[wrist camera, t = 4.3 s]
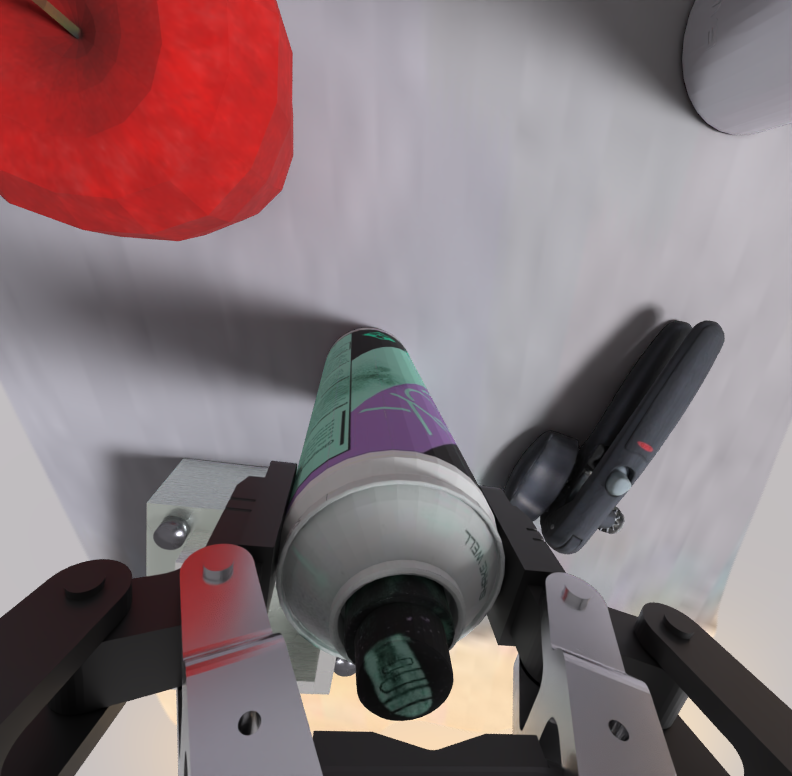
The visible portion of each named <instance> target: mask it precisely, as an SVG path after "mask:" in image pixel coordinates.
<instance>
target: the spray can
mask: <svg viewBox="0 0 792 776" xmlns="http://www.w3.org/2000/svg"><path fill="white" fill-rule="evenodd" d="M504 575H505V555H504V550H503V545H502V541H501V538H500V536H499V534H498V532H497V527H496V523H495V518H494V515H493V513H492V511H491V509H490V507H489V505H488V503H487V501H486V499H485V497H484V495H483V493H482V491H481V490H480V488H479V486H478V484H477V482H476V480H475V478H474V476H473V475H472V473H471V471H470V469H469V467H468V465H467V463H466V461H465V460H464V458H463V456H462V454H461V452H460V450H459V448H458V447H457V445H456V443H455V441H454V439H453V437H452V435H451V433H450V432H449V430H448V428H447V426H446V424H445V422H444V420H443V418H442V417H441V415H440V413H439V411H438V409H437V407H436V405H435V403H434V402H433V400H432V398H431V396H430V394H429V392H428V390H427V388H426V387H425V385H424V383H423V381H422V379H421V377H420V375H419V374H418V372H417V370H416V368H415V366H414V364H413V362H412V360H411V359H410V357H409V355H408V353H407V351H406V349H405V348H404V346H403V345H402V344H401V343H400V341H399V340H398V339H396V338H395V337H394V336H393V335H391V334H389V333H388V332H386V331H383V330H380V329H377V328H359V329H356V330H352V331H350V332H348V333H346V334H344V335H343V336H342V337H341V338H339V339H338V340H337V341H336V342H335V344H334V345H333V346H332V348H331V350H330V351H329V353H328V355H327V359H326V362H325V366H324V370H323V373H322V377H321V381H320V385H319V389H318V392H317V396H316V400H315V404H314V408H313V412H312V415H311V419H310V423H309V427H308V431H307V434H306V438H305V442H304V446H303V450H302V454H301V457H300V461H299V465H298V469H297V473H296V478H295V482H294V486H293V489H292V493H291V497H290V501H289V505H288V509H287V512H286V516H285V520H284V524H283V528H282V533H281V540H280V548H279V557H278V564H277V572H276V590H277V594H278V599H279V604H280V606H281V608H282V610H283V612H284V614H285V616H286V618H287V620H288V622H289V623H290V624H291V625H292V626H293V628H294V629H295V630H296V631H297V632H298V634H299V635H300V636H302V637H303V638H304V639H306V640H307V641H308V642H309V643H311V644H312V645H313V646H315V647H317V648H318V649H320V650H322V651H324V652H326V653H328V654H330V655H332V656H336V657H339V658H342V659H345V660H347V661H348V662H350V663H352V664H354V665H355V667H356V685H357V694H358V697H359V699H360V701H361V703H362V704H363V705H364V707H366V708H367V709H368V710H369V711H371V712H372V713H374V714H376V715H377V716H379V717H381V718H384V719H388V720H395V721H405V720H413V719H416V718H420V717H423V716H425V715H427V714H429V713H431V712H432V711H434V710H435V709H437V708H438V707H439V706H440V705H441V704H442V703H443V702H444V701H445V700H446V699H447V697H448V696H449V693H450V691H451V689H452V685H453V670H452V665H451V660H450V654H449V650H450V649H451V648H452V647H453V646H454V645H455V644H456V642H457V641H459V640H460V639H462V638H463V637H465V636H466V635H467V634H468V633H469V632H471V631H472V630H473V629H474V628H475V627H476V626H477V625H478V624H479V623H480V622H481V621H482V620H483V618H484V617H485V616H486V615H487V613H488V612H489V611H490V609H491V608H492V606H493V604H494V602H495V600H496V598H497V597H498V595H499V593H500V590H501V586H502V582H503V578H504Z"/></svg>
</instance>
